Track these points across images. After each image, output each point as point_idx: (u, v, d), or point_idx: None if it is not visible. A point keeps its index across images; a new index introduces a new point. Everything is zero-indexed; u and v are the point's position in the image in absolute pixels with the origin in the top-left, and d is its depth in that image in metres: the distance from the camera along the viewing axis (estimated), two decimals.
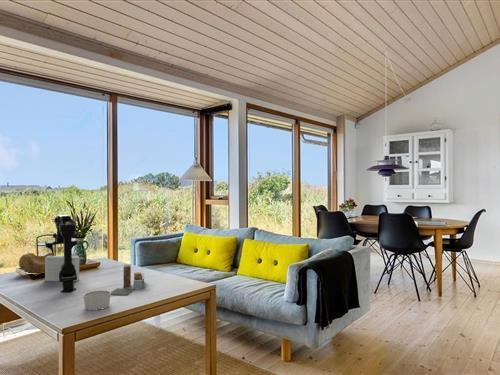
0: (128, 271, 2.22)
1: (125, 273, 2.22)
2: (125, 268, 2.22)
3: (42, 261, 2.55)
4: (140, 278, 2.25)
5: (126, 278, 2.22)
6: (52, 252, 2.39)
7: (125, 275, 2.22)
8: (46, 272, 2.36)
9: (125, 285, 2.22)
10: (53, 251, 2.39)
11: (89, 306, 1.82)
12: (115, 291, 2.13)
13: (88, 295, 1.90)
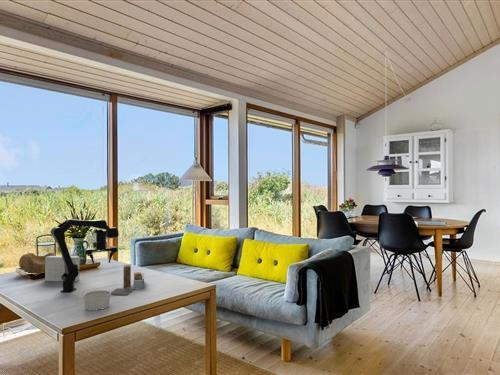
0: (128, 271, 2.22)
1: (125, 273, 2.22)
2: (125, 268, 2.22)
3: (42, 261, 2.55)
4: (140, 278, 2.25)
5: (126, 278, 2.22)
6: (92, 260, 2.25)
7: (125, 275, 2.22)
8: (46, 272, 2.36)
9: (125, 285, 2.22)
10: (93, 259, 2.25)
11: (89, 306, 1.82)
12: (115, 291, 2.13)
13: (88, 295, 1.90)
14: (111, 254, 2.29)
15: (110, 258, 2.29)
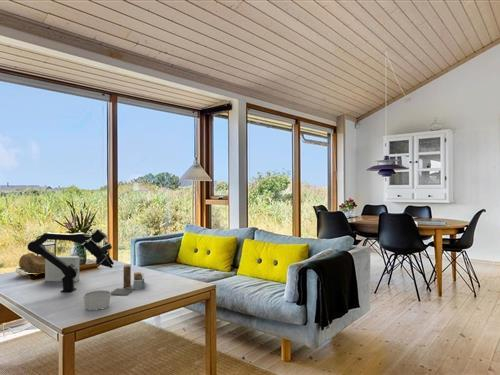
0: (128, 271, 2.22)
1: (125, 273, 2.22)
2: (125, 268, 2.22)
3: (42, 261, 2.55)
4: (140, 278, 2.25)
5: (126, 278, 2.22)
6: None
7: (125, 275, 2.22)
8: (46, 272, 2.36)
9: (125, 285, 2.22)
10: None
11: (89, 306, 1.82)
12: (115, 291, 2.13)
13: (88, 295, 1.90)
14: None
15: (106, 266, 2.16)
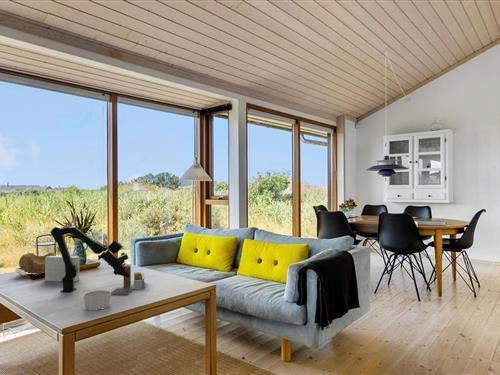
0: (128, 271, 2.22)
1: None
2: (125, 268, 2.22)
3: (42, 261, 2.55)
4: (140, 278, 2.25)
5: (126, 278, 2.22)
6: None
7: None
8: (46, 272, 2.36)
9: (125, 285, 2.22)
10: None
11: (89, 306, 1.82)
12: (115, 291, 2.13)
13: (88, 295, 1.90)
14: None
15: (123, 275, 2.21)
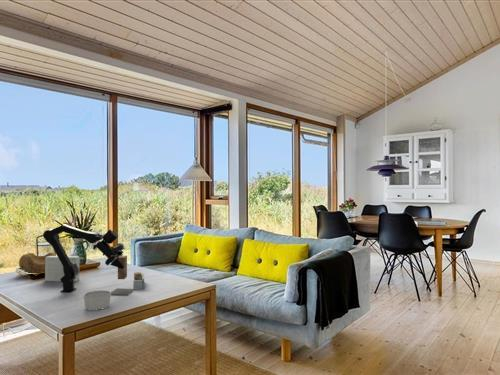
0: (122, 262, 2.15)
1: None
2: (119, 259, 2.15)
3: (42, 261, 2.55)
4: (140, 278, 2.25)
5: (120, 269, 2.15)
6: None
7: None
8: (46, 272, 2.36)
9: (119, 276, 2.15)
10: None
11: (89, 306, 1.82)
12: (115, 291, 2.13)
13: (88, 295, 1.90)
14: None
15: (117, 266, 2.14)
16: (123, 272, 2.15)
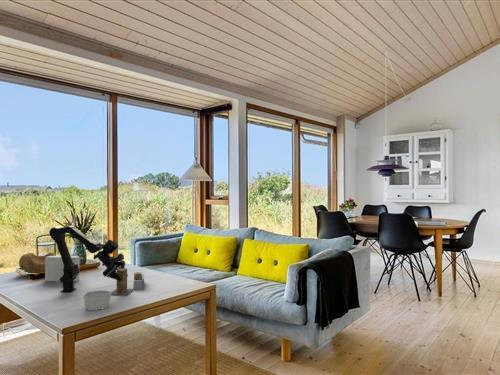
0: (121, 275, 2.10)
1: None
2: (118, 272, 2.10)
3: (42, 261, 2.55)
4: (140, 278, 2.25)
5: (119, 282, 2.10)
6: None
7: None
8: (46, 272, 2.36)
9: (118, 290, 2.10)
10: None
11: (89, 306, 1.82)
12: (115, 291, 2.13)
13: (88, 295, 1.90)
14: None
15: (114, 278, 2.08)
16: (122, 286, 2.10)
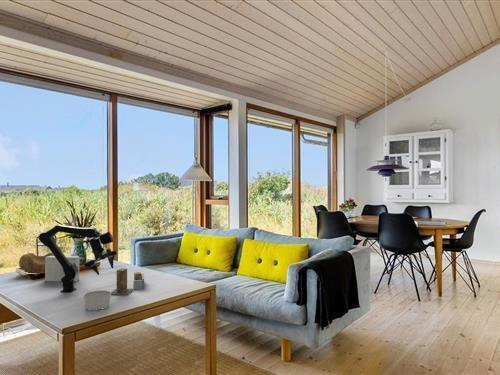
0: (121, 275, 2.10)
1: (118, 277, 2.10)
2: (118, 272, 2.10)
3: (42, 261, 2.55)
4: (140, 278, 2.25)
5: (119, 282, 2.10)
6: None
7: (118, 279, 2.10)
8: (46, 272, 2.36)
9: (118, 290, 2.10)
10: (109, 262, 2.24)
11: (89, 306, 1.82)
12: (115, 291, 2.13)
13: (88, 295, 1.90)
14: None
15: (94, 270, 2.16)
16: (122, 286, 2.10)
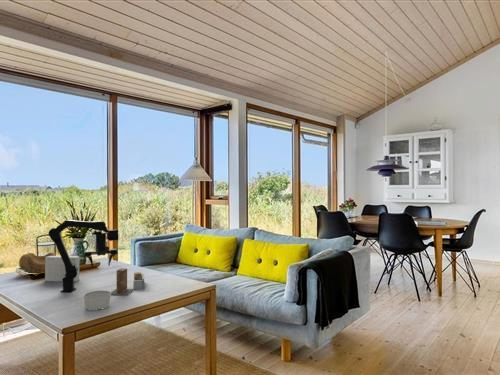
0: (121, 275, 2.10)
1: (118, 277, 2.10)
2: (118, 272, 2.10)
3: (42, 261, 2.55)
4: (140, 278, 2.25)
5: (119, 282, 2.10)
6: None
7: (118, 279, 2.10)
8: (46, 272, 2.36)
9: (118, 290, 2.10)
10: None
11: (89, 306, 1.82)
12: (115, 291, 2.13)
13: (88, 295, 1.90)
14: None
15: None
16: (122, 286, 2.10)
